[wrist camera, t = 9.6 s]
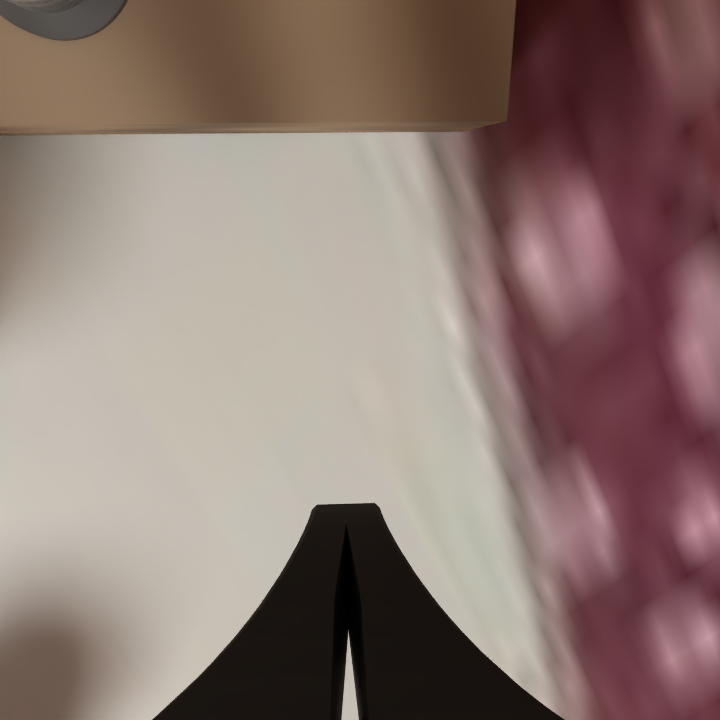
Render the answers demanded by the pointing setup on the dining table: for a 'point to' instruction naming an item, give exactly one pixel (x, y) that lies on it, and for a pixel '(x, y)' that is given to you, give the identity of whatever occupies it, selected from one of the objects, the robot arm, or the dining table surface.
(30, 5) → the lock bar
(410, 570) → the robot arm
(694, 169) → the dining table surface
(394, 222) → the dining table surface
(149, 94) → the jamb
